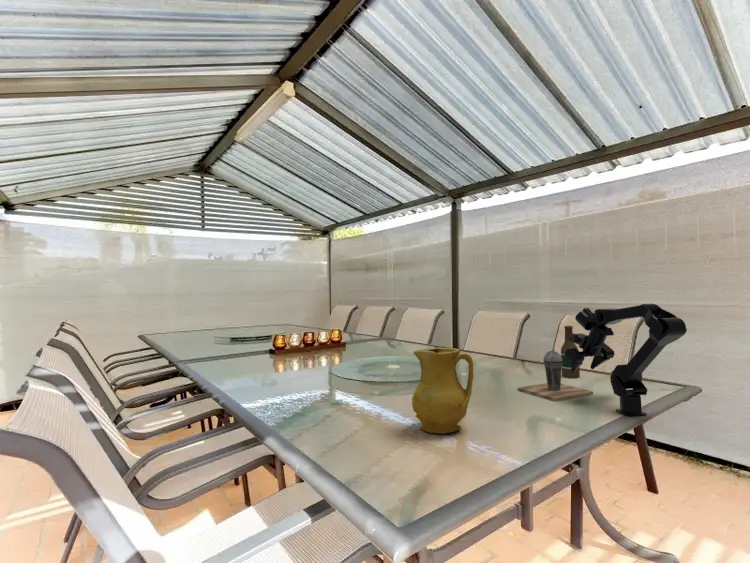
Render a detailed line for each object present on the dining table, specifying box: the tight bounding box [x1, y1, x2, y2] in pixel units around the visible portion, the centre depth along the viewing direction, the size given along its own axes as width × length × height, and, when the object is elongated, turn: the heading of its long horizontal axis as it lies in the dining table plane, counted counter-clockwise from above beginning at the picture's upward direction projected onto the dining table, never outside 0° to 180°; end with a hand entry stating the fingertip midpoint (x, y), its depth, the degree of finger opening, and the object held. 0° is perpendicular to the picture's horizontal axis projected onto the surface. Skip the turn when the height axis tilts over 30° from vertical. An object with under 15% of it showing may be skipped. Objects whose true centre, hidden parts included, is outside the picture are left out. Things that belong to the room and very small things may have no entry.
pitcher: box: [411, 346, 474, 435], centre depth 131 cm, size 17×19×25 cm
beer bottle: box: [560, 325, 581, 379], centre depth 197 cm, size 8×8×24 cm
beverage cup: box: [543, 339, 563, 391], centre depth 170 cm, size 7×7×20 cm
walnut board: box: [517, 382, 594, 402], centre depth 170 cm, size 20×20×1 cm
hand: (582, 370), depth 162 cm, fingers open, 9 cm apart
